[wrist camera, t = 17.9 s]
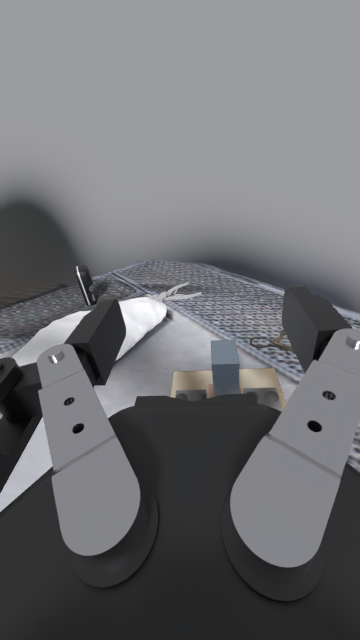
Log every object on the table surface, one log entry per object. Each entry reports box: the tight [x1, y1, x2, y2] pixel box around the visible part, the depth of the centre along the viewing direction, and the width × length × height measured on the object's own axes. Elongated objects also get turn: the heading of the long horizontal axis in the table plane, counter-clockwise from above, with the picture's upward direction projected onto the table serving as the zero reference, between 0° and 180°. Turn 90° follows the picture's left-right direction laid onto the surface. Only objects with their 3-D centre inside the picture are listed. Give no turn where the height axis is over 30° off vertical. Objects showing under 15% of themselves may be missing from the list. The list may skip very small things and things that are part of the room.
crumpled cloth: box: [11, 297, 167, 367], centre depth 57 cm, size 24×35×9 cm
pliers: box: [148, 283, 202, 302], centre depth 77 cm, size 10×2×15 cm
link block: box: [211, 340, 239, 397], centre depth 37 cm, size 4×5×10 cm
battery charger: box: [75, 265, 96, 306], centre depth 77 cm, size 7×4×11 cm, turn 22°
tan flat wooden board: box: [171, 368, 286, 412], centre depth 40 cm, size 18×14×2 cm
